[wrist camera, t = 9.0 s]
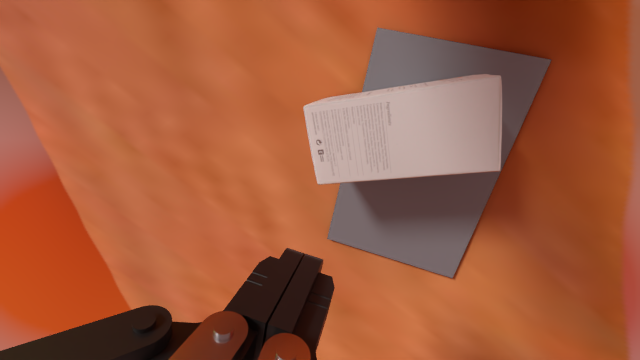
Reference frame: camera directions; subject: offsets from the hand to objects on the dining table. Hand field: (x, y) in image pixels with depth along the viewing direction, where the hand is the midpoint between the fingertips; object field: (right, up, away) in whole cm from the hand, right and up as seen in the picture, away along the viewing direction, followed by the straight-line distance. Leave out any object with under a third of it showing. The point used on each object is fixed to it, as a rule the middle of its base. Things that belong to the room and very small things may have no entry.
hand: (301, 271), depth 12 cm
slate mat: (+10, +5, +18) cm, 21 cm away
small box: (+1, +7, +15) cm, 16 cm away
